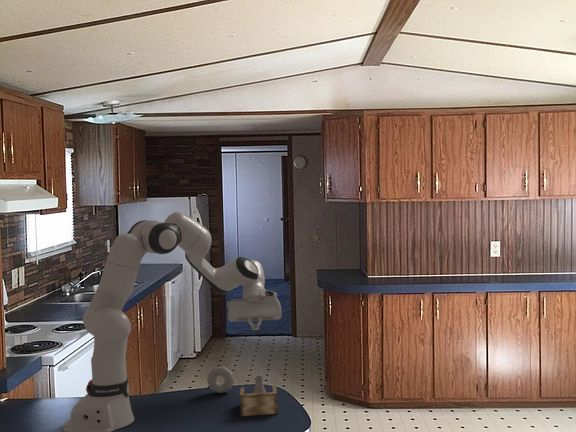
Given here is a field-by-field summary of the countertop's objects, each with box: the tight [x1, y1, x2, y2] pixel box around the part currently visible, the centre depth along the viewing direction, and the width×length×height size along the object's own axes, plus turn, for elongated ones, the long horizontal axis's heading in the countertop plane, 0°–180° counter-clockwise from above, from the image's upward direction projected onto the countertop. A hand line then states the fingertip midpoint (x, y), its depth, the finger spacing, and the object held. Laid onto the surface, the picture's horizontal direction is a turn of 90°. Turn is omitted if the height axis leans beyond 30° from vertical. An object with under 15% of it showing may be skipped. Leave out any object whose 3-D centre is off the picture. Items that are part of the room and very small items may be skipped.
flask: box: [253, 374, 267, 393], centre depth 219 cm, size 7×7×10 cm
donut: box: [206, 365, 235, 394], centre depth 233 cm, size 10×3×10 cm, turn 85°
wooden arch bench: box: [239, 384, 279, 417], centre depth 215 cm, size 12×11×7 cm
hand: (255, 329), depth 232 cm, fingers closed
